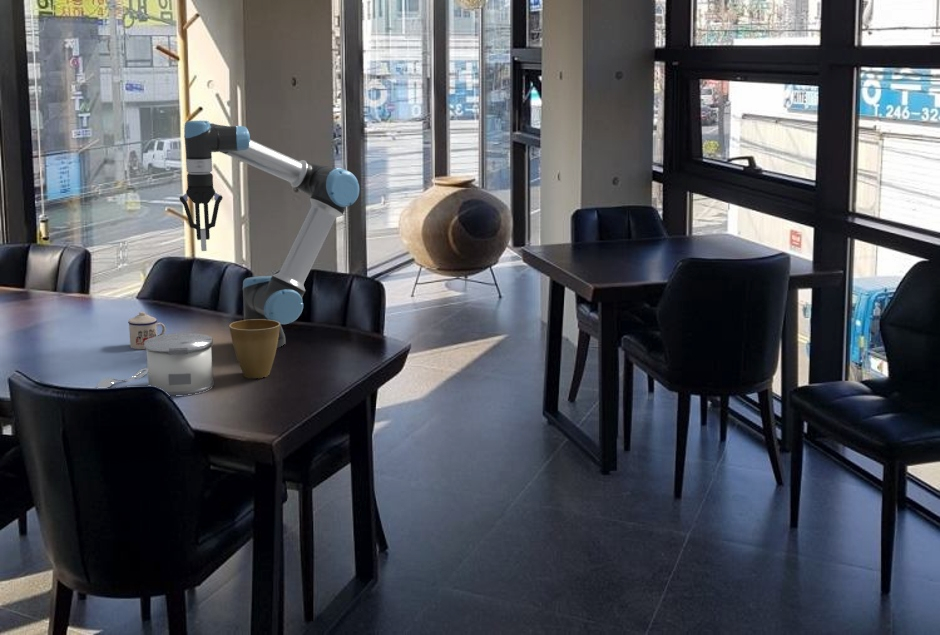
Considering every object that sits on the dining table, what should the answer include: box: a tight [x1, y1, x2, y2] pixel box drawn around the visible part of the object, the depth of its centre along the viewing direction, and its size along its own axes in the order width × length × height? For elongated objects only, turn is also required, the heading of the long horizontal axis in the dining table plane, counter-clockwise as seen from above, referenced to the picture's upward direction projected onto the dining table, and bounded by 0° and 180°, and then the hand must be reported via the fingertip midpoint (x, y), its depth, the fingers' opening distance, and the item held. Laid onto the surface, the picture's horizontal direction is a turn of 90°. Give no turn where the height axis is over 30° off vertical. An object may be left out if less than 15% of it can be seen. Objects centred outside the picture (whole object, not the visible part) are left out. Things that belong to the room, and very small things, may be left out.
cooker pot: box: [146, 346, 215, 397], centre depth 318 cm, size 19×19×12 cm
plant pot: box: [229, 319, 280, 379], centre depth 330 cm, size 15×15×16 cm
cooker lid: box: [144, 332, 214, 355], centre depth 315 cm, size 19×21×2 cm
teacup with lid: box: [128, 311, 166, 351], centre depth 362 cm, size 12×9×12 cm
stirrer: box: [97, 367, 148, 388], centre depth 323 cm, size 20×4×5 cm
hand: (203, 250), depth 336 cm, fingers closed
